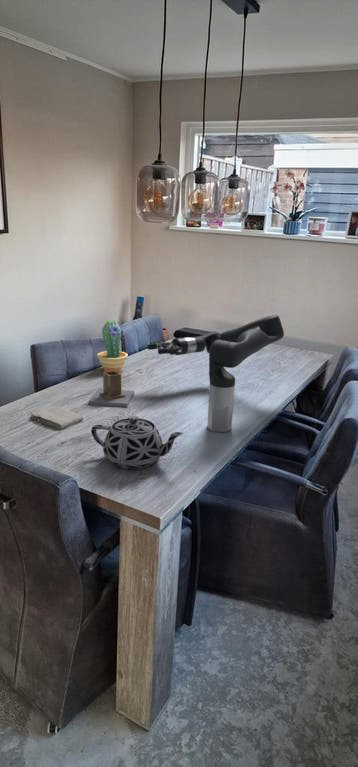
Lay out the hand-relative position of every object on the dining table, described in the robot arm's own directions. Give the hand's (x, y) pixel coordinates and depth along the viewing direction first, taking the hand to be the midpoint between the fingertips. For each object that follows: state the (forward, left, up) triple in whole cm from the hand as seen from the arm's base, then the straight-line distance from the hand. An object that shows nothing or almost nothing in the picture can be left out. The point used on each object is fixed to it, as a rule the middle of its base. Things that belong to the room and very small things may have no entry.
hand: (153, 349), depth 220 cm
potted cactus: (+31, +25, -20) cm, 44 cm away
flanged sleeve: (-10, +16, -19) cm, 26 cm away
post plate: (-10, +16, -20) cm, 27 cm away
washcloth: (-36, +31, -21) cm, 52 cm away
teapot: (-64, -4, -20) cm, 67 cm away
